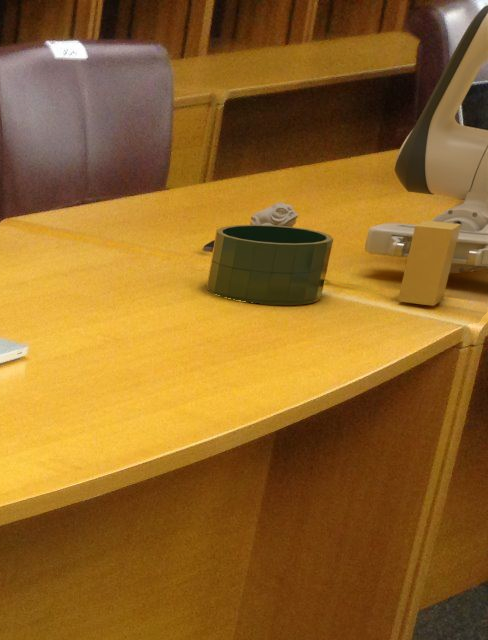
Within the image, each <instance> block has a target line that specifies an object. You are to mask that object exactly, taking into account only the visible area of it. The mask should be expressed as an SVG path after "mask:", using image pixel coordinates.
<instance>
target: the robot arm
mask: <svg viewBox="0 0 488 640" xmlns="http://www.w3.org/2000/svg"><path fill="white" fill-rule="evenodd" d="M487 62H488V5H485V6H483V8H481V9H480V10H479V12H477V14H476V15H475V16H474V17H473V19H472V20H471V21H470V23H469V25H468V26H467V28H466V30H465V32H464V33H463V35H462V37H461V38H460V40H459V42H458V44H457V45H456V47H455V50H454V51H453V52H452V55H451V57H450V59H449V60H448V62H447V64H446V66H445V68H444V70H443V71H442V74H441V76H440V78H439V79H438V82H437V83H436V85H435V87H434V89H433V91H432V93H431V95H430V97H429V99H428V100H427V102H426V105H425V106H424V108H423V111H422V113H421V114H420V116H419V118H418V120H417V121H416V123H415V125H414V127H412V129H411V131H410V132H409V133H408V135H407V136H406V138H405V139H404V141H403V143H402V144H401V146H400V148H399V150H398V153H397V155H396V159H395V166H394V173H395V176H396V177H397V179H398V180H399V182H400V184H401V185H402V186H403V188H404V189H405V190H406V191H407V192H408V193H415V194H425V195H430V196H433V195H436V196H441V197H446V198H450V199H455V200H460V201H461V202H460V203H457V204H456V205H453V207H452V206H451V207H450V208H449V209H447V210H445V211H443V212H441V213H439V214H438V215H436V216H434V218H433V219H432V220H431V221H435V222H445V223H455V224H461V227H460V231H459V235H458V239H457V243H456V247H455V251H454V255H453V260H452V264H451V268H450V272H449V274H457V273H464V272H475V271H485V270H486V271H488V129H483V128H477V127H472V126H467V125H462V124H460V123H458V122H457V120H456V114H457V113H458V112H459V109H460V108H461V105H462V104H463V102H464V100H465V98H466V96H467V94H468V93H469V91H470V89H471V87H472V85H473V83H474V82H475V79H476V77H477V75H478V74H479V72H480V70H481V68H482V67H483V66H484V65H485V64H486V63H487ZM416 225H417V224H415V223H414V224H413V223H404V222H384V223H380V224H376V225H373V226H371V227H370V228H368V231H367V236H366V239H365V245H364V251H365V253H368V254H369V255H377V256H384V257H385V256H387V257H395V258H403V259H408V255H409V250H410V246H411V242H412V238H413V233H414V229H415V226H416Z"/></svg>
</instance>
